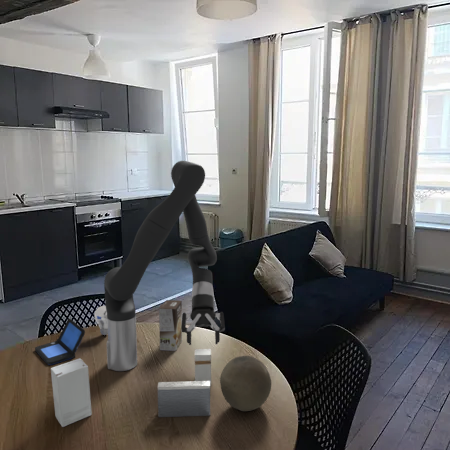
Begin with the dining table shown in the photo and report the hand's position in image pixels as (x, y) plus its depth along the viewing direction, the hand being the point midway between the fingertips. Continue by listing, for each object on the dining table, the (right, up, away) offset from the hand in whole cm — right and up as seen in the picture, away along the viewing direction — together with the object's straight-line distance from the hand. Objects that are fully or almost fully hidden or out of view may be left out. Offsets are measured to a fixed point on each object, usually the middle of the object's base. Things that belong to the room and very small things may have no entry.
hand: (203, 343), depth 131 cm
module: (0, -11, -4) cm, 11 cm away
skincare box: (-34, -14, -21) cm, 42 cm away
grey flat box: (-4, -13, -20) cm, 24 cm away
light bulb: (-41, -6, +30) cm, 51 cm away
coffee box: (-13, -7, +22) cm, 26 cm away
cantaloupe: (+13, -13, -17) cm, 25 cm away
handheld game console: (-52, -8, +16) cm, 55 cm away
